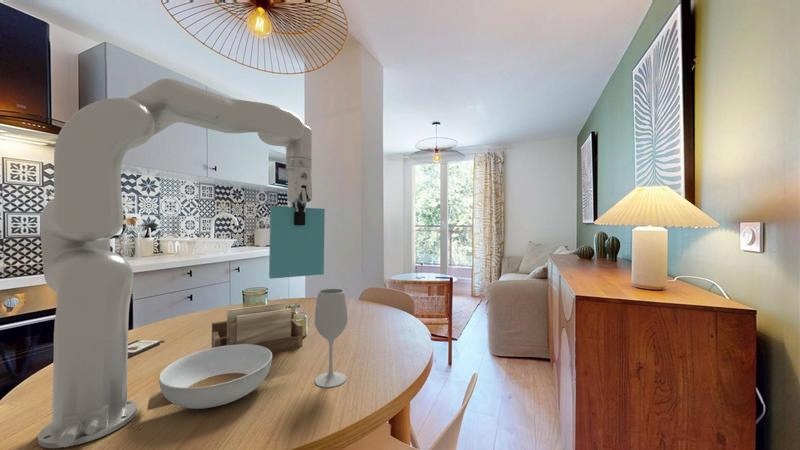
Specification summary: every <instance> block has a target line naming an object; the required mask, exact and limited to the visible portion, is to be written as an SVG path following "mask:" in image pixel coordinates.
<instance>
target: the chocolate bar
mask: <svg viewBox="0 0 800 450" xmlns="http://www.w3.org/2000/svg"><path fill="white" fill-rule="evenodd" d="M162 343H165V340H145V339H144V340H143V339H142V340H139V339H136V340H135V341H132V342H128V360H129V359H131V358H133V357H135V356H139V355H140V354H142V353H144V352H147V351H149V350H151V349H154V348H155V347H156V348H157V347H159V346H160V344H162Z"/></svg>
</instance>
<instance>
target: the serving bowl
mask: <svg viewBox="0 0 800 450" xmlns="http://www.w3.org/2000/svg"><path fill="white" fill-rule="evenodd" d="M272 361H273V353H272V352H271V351H270V350H269V349H267V348H265V347H263V346H258V345H250V344H239V345H227V346H220V347H215V348H212V347H211V348H207V349H203V350H199V351H196V352H193V353H191V354H189V355H188V354H187V355H186V356H183V357H181V358H179V359H177V360H175V361H173V362H171V363H170V364H169V365H167V366H166V367H164V368H163V370H162V371H161V372H160V374H159V375H158V383H159V389H160V391H161V393H162V395H163V396H164V397H165V399H167V400H168V402H170V403H172V404H173V405H175V406H178V407H180V408H186V409H197V410H198V409H208V408H215V407H219V406H223V405H226V404H229V403H232V402H235V401H237V400H239V399H241V398H243V397H245V396H247V395H249V394H250V393H251V392H253V391H254V390H255V389H257V388H258V387H259V386H260V385H261V384H262V383H263V381H264V380H265V379H266V377H267V376H268V374H269V372H270V369H271V367H272ZM226 374H243V375H244V376H241V377H239V378H235V379H232V380H230V381H229V380H228V381H227V382H221V383H217V384H213V385H212V384H211V385H205V386H196V387H191V386H193V385H194V384H197V383H198V382H201V381H203V380H205V379H208V378H212V377H216V376H220V375H226Z"/></svg>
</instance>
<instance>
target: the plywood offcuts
mask: <svg viewBox="0 0 800 450" xmlns="http://www.w3.org/2000/svg"><path fill="white" fill-rule="evenodd" d="M291 311H292V308H287V303H286V302H285V301H283V302H276V303H269V304H261V305H252V306H245V307H237V308H229V309H227V310H226V321H227V345H239V344H250V345H252V344H257V343H262V342H268V341H273V340H278V339H283V338H288V337H291Z"/></svg>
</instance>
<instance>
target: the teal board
mask: <svg viewBox="0 0 800 450" xmlns="http://www.w3.org/2000/svg"><path fill="white" fill-rule="evenodd" d="M269 209H270V210H269V264H268V265H269V266H268V267H269V268H268V269H269V272H268V273H269V274H268V278H269V279H270V280H271V279H283V278H294V277H308V276H321V275H325V264H324V263H325V218H326V216H325V213H326V211H325V208H317V207H306V211H305V225H294V212H296V211H295V207H291V206H274V205H270V207H269Z"/></svg>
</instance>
